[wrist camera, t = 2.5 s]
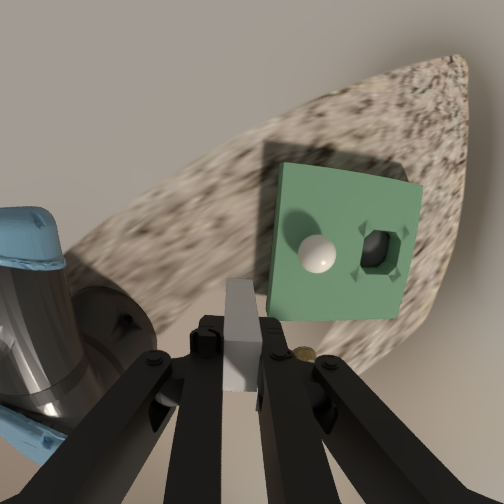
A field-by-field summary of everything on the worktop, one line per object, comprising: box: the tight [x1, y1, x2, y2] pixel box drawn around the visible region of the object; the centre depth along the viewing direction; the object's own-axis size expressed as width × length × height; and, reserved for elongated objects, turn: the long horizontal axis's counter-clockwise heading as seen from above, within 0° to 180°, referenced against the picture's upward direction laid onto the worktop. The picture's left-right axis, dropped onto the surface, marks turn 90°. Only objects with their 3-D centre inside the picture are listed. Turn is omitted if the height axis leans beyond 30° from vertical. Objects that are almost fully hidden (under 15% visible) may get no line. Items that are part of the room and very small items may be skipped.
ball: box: [298, 234, 336, 273], centre depth 29 cm, size 4×4×4 cm
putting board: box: [266, 162, 423, 321], centre depth 32 cm, size 18×18×3 cm
